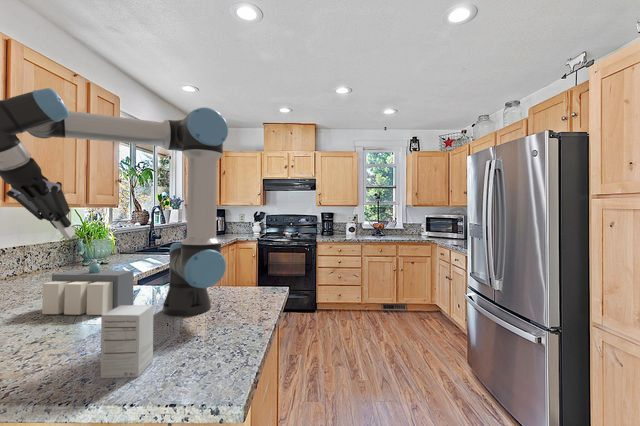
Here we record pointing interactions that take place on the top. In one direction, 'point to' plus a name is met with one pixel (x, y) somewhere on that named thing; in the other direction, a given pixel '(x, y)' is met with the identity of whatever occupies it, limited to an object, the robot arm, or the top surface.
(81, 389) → the top surface
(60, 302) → the knob
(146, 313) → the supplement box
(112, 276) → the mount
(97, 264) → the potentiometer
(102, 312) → the knob
